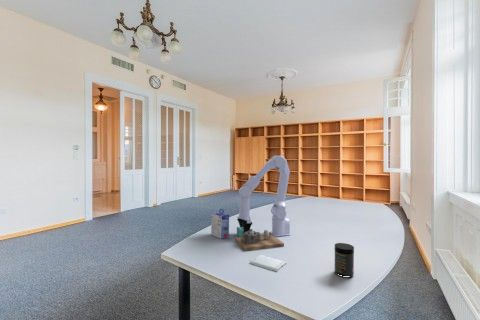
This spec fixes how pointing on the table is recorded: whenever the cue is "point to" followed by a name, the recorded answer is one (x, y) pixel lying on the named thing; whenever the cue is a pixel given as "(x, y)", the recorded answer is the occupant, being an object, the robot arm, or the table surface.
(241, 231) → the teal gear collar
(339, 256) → the supplement container
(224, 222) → the ink cartridge box
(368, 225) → the table surface
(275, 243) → the gear board
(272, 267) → the hard drive
